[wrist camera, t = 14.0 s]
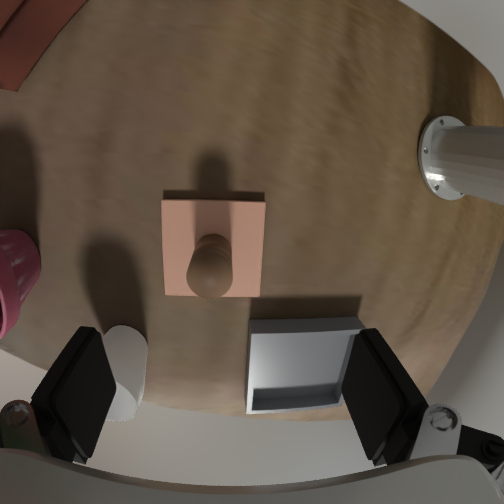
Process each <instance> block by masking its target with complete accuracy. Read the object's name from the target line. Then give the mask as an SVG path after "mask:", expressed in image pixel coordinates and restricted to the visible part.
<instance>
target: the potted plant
mask: <svg viewBox="0 0 504 504" xmlns="http://www.w3.org/2000/svg"><path fill="white" fill-rule="evenodd" d="M86 1H87V0H0V89H6V90H11V91H16V92H17V91H18V90H19V88H20V86H21V85H22V83H23V81H24V80H25V78H26V77H27V75H28V74H29V72H30V71H31V69H32V68H33V66H34V65H35V63H36V62H37V60H38V59H39V58H40V56H41V55H42V53H43V52H44V51H45V49H46V48H47V47H48V45H49V44H50V43H51V41H52V40H53V39H54V38H55V36H56V35H57V34H58V33H59V31H60V30H61V29H62V28H63V27H64V25H65V24H66V23H67V22H68V21H69V20H70V18H71V17H72V16H73V15H74V14H75V13H76V12H77V11H78V10H79V8H80V7H81V6H82V5H83V4H84V3H85V2H86Z"/></svg>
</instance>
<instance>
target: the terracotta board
mask: <svg viewBox="0 0 504 504" xmlns="http://www.w3.org/2000/svg"><path fill="white" fill-rule="evenodd" d="M265 204H266V203H265V201H241V200H202V199H163V200H162V243H163V265H164V281H165V295H183V296H198V295H196V294H195V293H194V292H193V291H192V290H191V289H190V288H189V286H188V284H187V280H186V273H187V269H188V266H189V264H190V261H191V258H192V255H193V252H194V249H195V246H196V244H197V242H198V241H199V239H200V238H202V237H203V236H205V235H207V234H219V235H221V236H223V237H225V238H226V239H227V240H228V241H229V243H230V245H231V249H232V269H233V282H232V285H231V287H230V289H229V290H228V291H227V292H226V293H225V294H224V295H222V296H221V297H259V294H260V280H261V265H262V251H263V236H264V220H265Z"/></svg>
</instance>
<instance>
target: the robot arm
mask: <svg viewBox="0 0 504 504" xmlns="http://www.w3.org/2000/svg"><path fill="white" fill-rule="evenodd" d="M418 161H419V167H420V171H421V174H422V177H423V179H424V181H425V183H426V185H427V186H428V188H429V189H430V190H431V191H432V192H433V193H434V194H435V195H437V196H438V197H440V198H443V199H446V200H457V199H459V198H461V197H463V196H464V195H465V194H467V195H471V196H474V197H478V198H481V199H485V200H488V201H491V202H494V203H498V204H501V205H504V127H499V126H465V124H464V123H462V122H461V121H460V120H459V119H457V118H455V117H452V116H439V117H436V118H434V119H432V120H431V121H430V122H429V123H428V124H427V125H426V126H425V128H424V130H423V132H422V134H421V137H420V141H419V147H418ZM341 391H342V395H343V398H344V400H345V403H346V405H347V408H348V410H349V413H350V415H351V418H352V420H353V422H354V425H355V428H356V430H357V433H358V436H359V438H360V440H361V443H362V446H363V448H364V451H365V454H366V456H367V458H368V460H372V461H373V464H374V466H378V465H382V464H387V466H384V467H380V468H376V469H372V470H368V471H363V472H358V473H354V474H349V475H344V476H339V477H333V478H327V479H321V480H314V481H307V482H298V483H288V484H276V485H260V486H206V485H190V484H179V483H169V482H161V481H153V480H147V479H140V478H134V477H129V476H124V475H119V474H114V473H110V472H105V471H101V470H97V469H92V468H89V467H85V466H81V465H78V464H74V463H72V462H73V461H75V462H79V463H82V464H86V462H87V459H88V458H91V457H92V454H93V452H94V449H95V446H96V443H97V441H98V438H99V435H100V432H101V430H102V427H103V424H104V422H105V419H106V416H107V414H108V411H109V409H110V406H111V403H112V401H113V398H114V396H115V393H116V382H115V379H114V377H113V373H112V370H111V367H110V364H109V361H108V358H107V354H106V351H105V348H104V344H103V341H102V337H101V334H100V332H97V330H96V329H95V328H94V327H85V326H80V327H79V328H78V330H77V331H76V332H75V334H74V335H73V337H72V338H71V339H70V341H69V342H68V343H67V345H66V346H65V348H64V349H63V350H62V352H61V353H60V355H59V356H58V358H57V359H56V360H55V362H54V363H53V365H52V366H51V368H50V369H49V371H48V372H47V374H46V375H45V377H44V378H43V380H42V381H41V383H40V384H39V386H38V387H37V389H36V391H35V392H34V394H33V395H32V397H31V399H32V401H31V403H30V404H29V403H28V402H26V401H24V400H14V401H11V402H9V403H7V404H6V405H5V406H4V407H3V409H2V410H1V412H0V504H504V440H503V439H502V438H501V437H499V436H497V435H494V434H491V433H487V432H484V431H481V430H477V429H474V428H471V427H468V426H464V425H461V424H462V423H461V416H460V414H459V413H458V411H457V410H456V409H454V408H453V407H451V406H450V405H447V404H441V403H438V404H433V405H431V406H430V407H429V405H428V404H427V402H426V400H425V398H424V397H423V395H422V394H421V392H420V391H419V389H418V388H417V386H416V385H415V383H414V382H413V380H412V379H411V377H410V376H409V374H408V373H407V371H406V370H405V368H404V367H403V365H402V364H401V363H400V361H399V360H398V358H397V357H396V355H395V354H394V352H393V351H392V350H391V348H390V347H389V345H388V344H387V343H386V341H385V340H384V338H383V337H382V335H381V334H380V333H379V331H378V330H377V329H376V328H371V329H362V330H360V332H359V333H358V334H356V335H355V337H354V342H353V346H352V349H351V353H350V357H349V361H348V365H347V368H346V372H345V375H344V379H343V382H342V386H341Z"/></svg>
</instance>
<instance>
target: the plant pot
mask: <svg viewBox="0 0 504 504" xmlns="http://www.w3.org/2000/svg"><path fill="white" fill-rule="evenodd" d="M40 271H41V260H40V255H39V252H38V249H37V247H36V245H35V243H34V242H33V240H32V239H31V238H30V236H29V235H27V234H26V233H25V232H23V231H21V230H18V229H10V230H0V339H1V338H2V337H3V336H4V335H5V334H6V333H7V332H8V331H9V330H10V329H11V328H12V327H13V326H14V325H15V324H16V322H17V320H18V317H19V314H20V306H21V305H22V303H23V302H24V300H25V298H26V297H27V295H28V294H29V292H30V290H31V289H32V287H33V286H34V284H35V283H36V282H37V280H38V278H39V275H40Z"/></svg>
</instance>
